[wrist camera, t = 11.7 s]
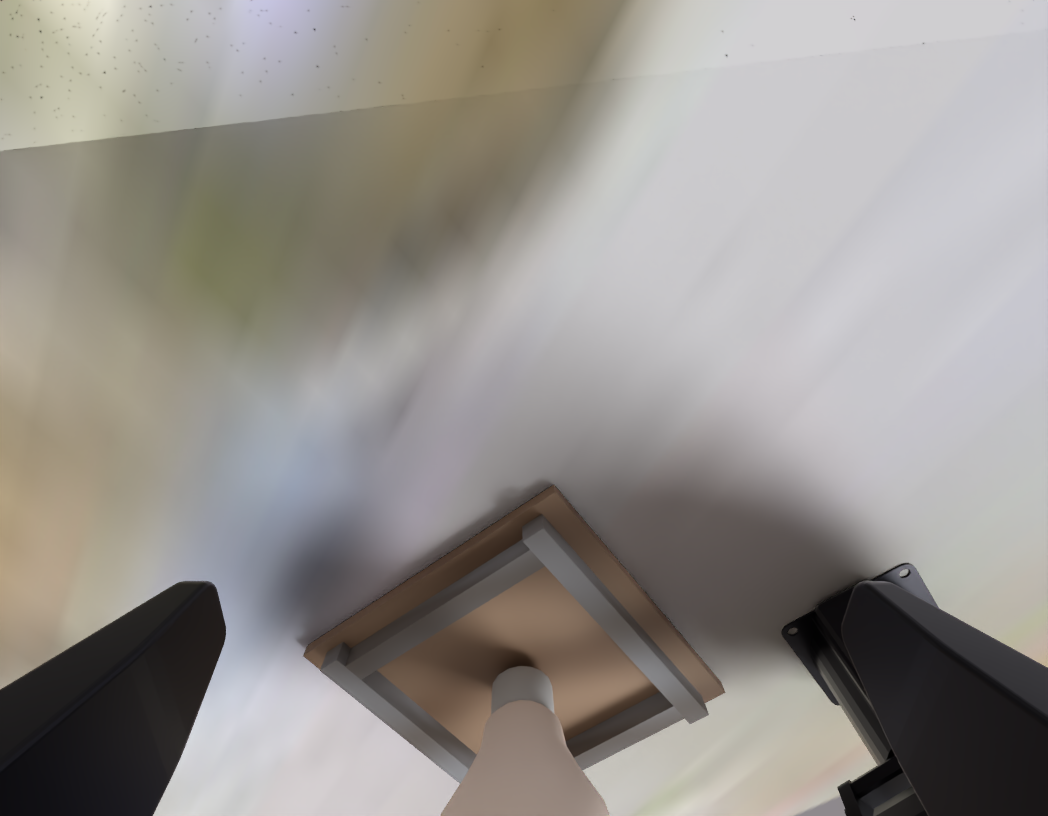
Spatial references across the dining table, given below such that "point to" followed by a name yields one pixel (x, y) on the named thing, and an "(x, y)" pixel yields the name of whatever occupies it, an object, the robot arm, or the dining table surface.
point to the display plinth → (519, 642)
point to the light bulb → (524, 758)
